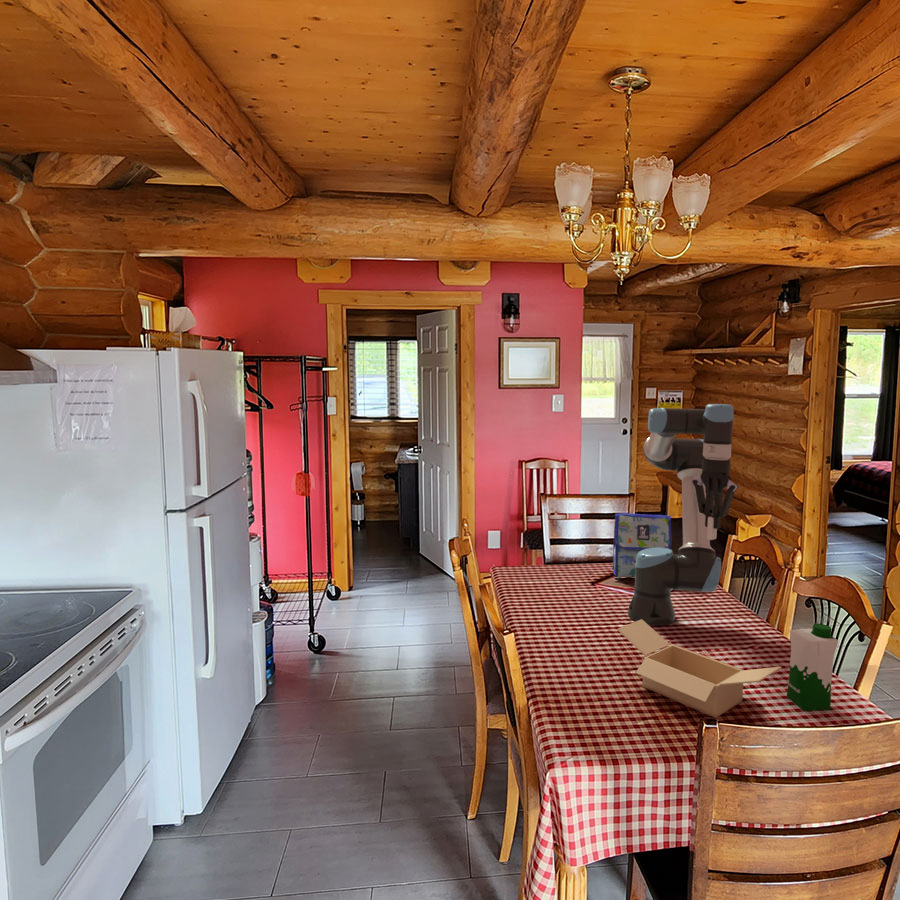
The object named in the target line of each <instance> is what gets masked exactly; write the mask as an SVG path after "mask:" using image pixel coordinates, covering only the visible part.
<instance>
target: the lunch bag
mask: <svg viewBox="0 0 900 900" xmlns="http://www.w3.org/2000/svg"><path fill="white" fill-rule="evenodd" d="M613 531H614V532H613V543H612V546H613V547H612V548H613V552H612V555H613V557H612V570H613V575H615V576H614V578H615V577H635V573H636V567H635V564H636V557H637V554H638V553H639V552H640V551H641V550H644V549H648V548H668V549H671V550H672V545H673V540H672V539H673V538H672V515H666V514H665V515H664V514H646V513H643V514H639V513H631V512H630V513H629V512H621V513H615V514H614V529H613Z"/></svg>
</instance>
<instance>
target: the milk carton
mask: <svg viewBox="0 0 900 900" xmlns="http://www.w3.org/2000/svg"><path fill="white" fill-rule="evenodd" d="M789 636H790V661H789V673H788V675H789V676H788V684H787V693H786V698H787V699H788V700H789V701H791V702H792V703H793V704H795V706H797V707H798V708H799V709H801V710H802V711H803V712H804V711H805V712H808V711H811V712H812V711H831V710H832V709H831V708H832V707H831V704H832V701H831V700H832V681H833V668H834V667H833V666H834V656H835V653H836V650H837V647H838V644H839V639H836V638H835V637H834V636H833V635H832V627H831V626H829V625H827V624H824V623H823V624H822V623H814V624H812V628H799V629H789Z"/></svg>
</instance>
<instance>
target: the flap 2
mask: <svg viewBox="0 0 900 900" xmlns="http://www.w3.org/2000/svg"><path fill="white" fill-rule="evenodd" d="M781 669H783V668H782V666H774V667H772V666H771V667H763V668H756V669H755V668H754V669H746V670H744V669H743V670H744V671H741V672H740V673H738V674H736V675H734V676H733V677H731V678H729V679H727V680H726V681H724V682H722V683H721V684H720V685H729V684H740V683H743V684H748V683H749V684H750V683H760V682H761V681H763V680H764V679H766V678H768V677H770V676H771V675H773V674H775V673H776V672H777V671H779V670H781Z"/></svg>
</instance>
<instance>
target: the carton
mask: <svg viewBox="0 0 900 900" xmlns="http://www.w3.org/2000/svg"><path fill="white" fill-rule="evenodd" d="M741 671H744V669H742V668H741V667H737V666H734V665H732V664H729V663H726V662H724V661H720V660H717V659H715V658H712V657H709V656H707V655H704V654H702V653H699V652H696V651H692V650H690V649H687V648H684V647H682V646H679V645H676V644H669V645H668V646H666V647H663V648H661V649H659V650H657V651H655V652H652V653H650V654H648V655H646V656H644V657H643V661H642V663H641V664H640V666H639V667H638V668H637V670H636V672H635V674H637V675H638V676H640V677H642V683H641V684H642V688H644V689H647V690H650V691H651V692H652V691H653V692H655V693H657V694H658V695H661V696H664V697H666V698H668V699H670V700H672V701H674V702H677V703H680V704H682V705H684V706H686V707H689V708H690V709H693V710H696V711H698V712H700V713H702V714H704V715H707V716H710V717H712V718H713V719H717V718H718V717H720V716H721V715H723V714H724V713H726V712H728V711H729V710H731V709H732V708H734V707H735V706H737V705H738V704H740V703H741V702H743V695H744V683H740V684H729V685H720V684H721V683H722V682H724V681H726V680H727V679H729V678H731V677H733V676H734V675H736V674H738V673H740V672H741Z"/></svg>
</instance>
